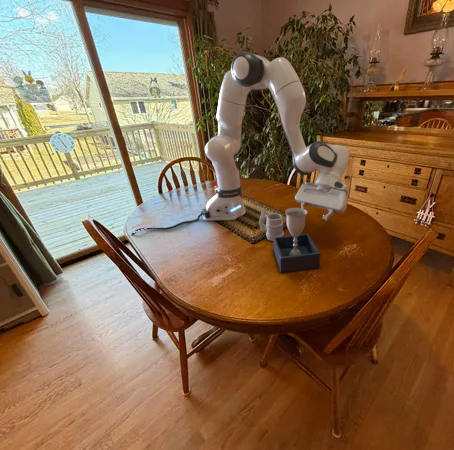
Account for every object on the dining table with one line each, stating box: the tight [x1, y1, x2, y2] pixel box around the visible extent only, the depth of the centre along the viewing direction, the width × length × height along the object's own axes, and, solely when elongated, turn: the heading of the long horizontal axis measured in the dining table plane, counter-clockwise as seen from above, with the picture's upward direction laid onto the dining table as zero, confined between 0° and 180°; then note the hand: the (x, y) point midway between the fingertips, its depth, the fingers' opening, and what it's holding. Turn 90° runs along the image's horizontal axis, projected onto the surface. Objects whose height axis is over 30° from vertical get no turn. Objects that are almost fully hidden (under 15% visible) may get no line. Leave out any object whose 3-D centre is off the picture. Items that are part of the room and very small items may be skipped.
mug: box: [258, 207, 285, 242], centre depth 99 cm, size 8×12×12 cm, turn 54°
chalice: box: [284, 207, 308, 256], centre depth 82 cm, size 7×7×18 cm
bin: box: [272, 233, 321, 273], centre depth 86 cm, size 14×14×6 cm
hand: (313, 217), depth 90 cm, fingers open, 8 cm apart
